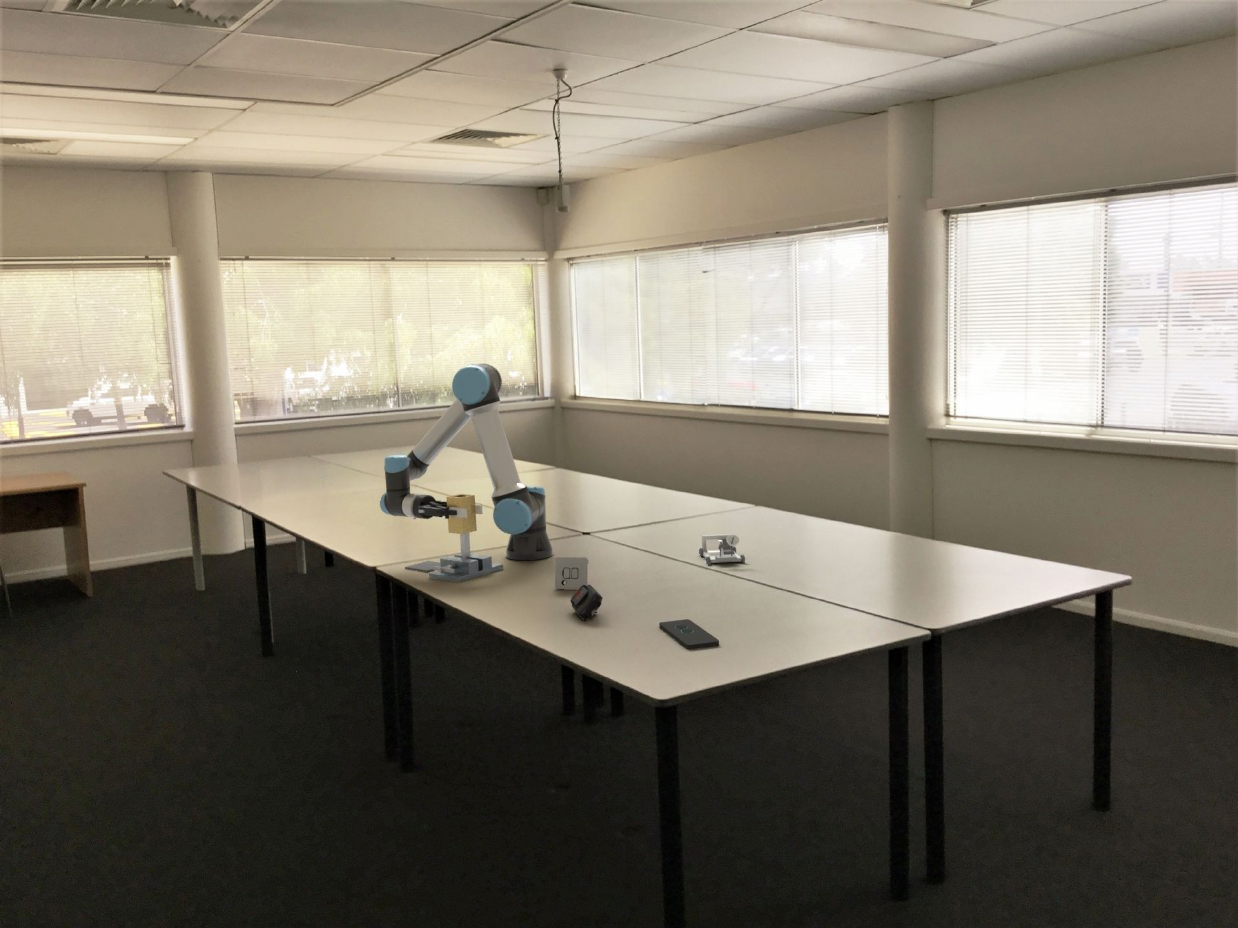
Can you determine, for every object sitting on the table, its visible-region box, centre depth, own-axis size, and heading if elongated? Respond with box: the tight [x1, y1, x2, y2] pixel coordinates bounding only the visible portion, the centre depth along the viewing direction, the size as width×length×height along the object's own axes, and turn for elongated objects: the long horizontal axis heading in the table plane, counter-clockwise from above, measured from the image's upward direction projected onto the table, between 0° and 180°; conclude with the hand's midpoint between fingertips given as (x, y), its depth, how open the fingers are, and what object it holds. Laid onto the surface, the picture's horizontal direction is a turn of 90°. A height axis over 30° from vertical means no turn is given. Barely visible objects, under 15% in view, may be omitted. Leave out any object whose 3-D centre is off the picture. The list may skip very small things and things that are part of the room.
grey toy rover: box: [698, 533, 746, 566], centre depth 325 cm, size 18×10×12 cm
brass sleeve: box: [446, 493, 478, 535], centre depth 316 cm, size 6×6×11 cm
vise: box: [428, 533, 504, 584], centre depth 317 cm, size 20×12×14 cm, turn 144°
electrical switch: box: [554, 556, 589, 591], centre depth 296 cm, size 9×5×9 cm, turn 78°
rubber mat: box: [404, 560, 441, 573], centre depth 328 cm, size 10×10×1 cm
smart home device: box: [659, 618, 720, 651], centre depth 247 cm, size 8×2×20 cm
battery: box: [570, 584, 604, 621], centre depth 267 cm, size 12×8×7 cm
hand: (473, 511), depth 312 cm, fingers closed on brass sleeve, 6 cm apart
